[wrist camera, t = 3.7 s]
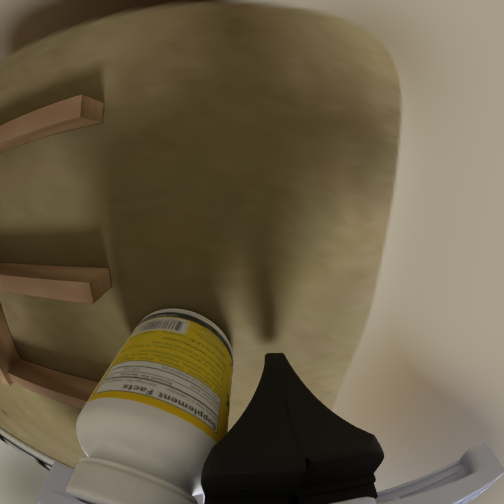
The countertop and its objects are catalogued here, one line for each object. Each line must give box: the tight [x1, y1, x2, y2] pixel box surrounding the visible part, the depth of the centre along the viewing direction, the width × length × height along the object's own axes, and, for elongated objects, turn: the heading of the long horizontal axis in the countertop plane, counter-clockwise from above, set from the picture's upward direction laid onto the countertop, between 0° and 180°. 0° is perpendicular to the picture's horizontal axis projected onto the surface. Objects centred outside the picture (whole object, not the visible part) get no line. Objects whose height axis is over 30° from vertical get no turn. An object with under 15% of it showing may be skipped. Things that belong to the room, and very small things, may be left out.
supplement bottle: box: [66, 308, 233, 504], centre depth 9 cm, size 5×5×10 cm
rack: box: [0, 95, 112, 409], centre depth 11 cm, size 17×12×2 cm
